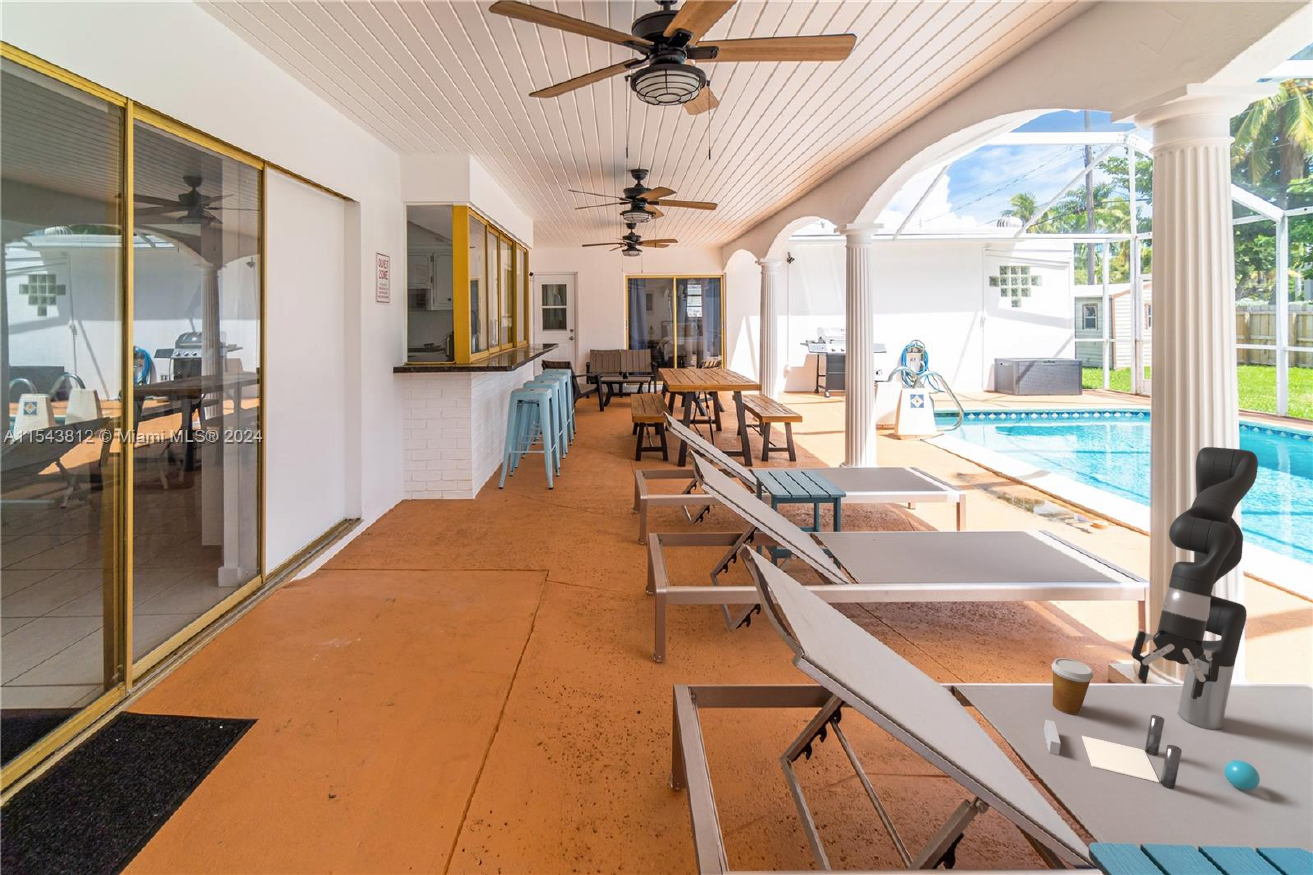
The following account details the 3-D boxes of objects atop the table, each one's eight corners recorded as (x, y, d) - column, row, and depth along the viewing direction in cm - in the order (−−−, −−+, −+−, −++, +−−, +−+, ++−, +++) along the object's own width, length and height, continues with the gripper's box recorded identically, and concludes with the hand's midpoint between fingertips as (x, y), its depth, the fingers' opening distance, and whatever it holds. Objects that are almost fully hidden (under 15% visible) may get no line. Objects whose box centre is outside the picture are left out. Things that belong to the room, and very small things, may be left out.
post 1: (1143, 747, 167) (1149, 713, 166) (1156, 750, 166) (1162, 716, 165) (1146, 754, 165) (1152, 719, 163) (1159, 756, 164) (1165, 722, 162)
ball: (1217, 775, 158) (1222, 751, 157) (1250, 783, 156) (1255, 759, 155) (1227, 791, 152) (1232, 766, 151) (1261, 799, 150) (1267, 774, 149)
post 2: (1158, 780, 155) (1165, 743, 154) (1172, 783, 154) (1179, 746, 153) (1162, 787, 153) (1169, 750, 151) (1176, 790, 152) (1183, 753, 150)
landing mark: (1081, 736, 171) (1081, 735, 171) (1144, 750, 166) (1144, 750, 166) (1091, 766, 159) (1092, 765, 159) (1159, 783, 154) (1159, 782, 154)
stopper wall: (1043, 730, 173) (1045, 719, 172) (1052, 732, 172) (1054, 721, 171) (1049, 752, 164) (1051, 741, 163) (1058, 755, 163) (1060, 743, 162)
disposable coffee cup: (1093, 720, 178) (1100, 677, 176) (1053, 714, 180) (1059, 672, 178) (1078, 701, 188) (1085, 659, 186) (1040, 695, 189) (1046, 655, 187)
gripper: (1224, 622, 142) (1207, 700, 142) (1141, 601, 150) (1125, 674, 150) (1232, 626, 136) (1214, 707, 136) (1145, 604, 143) (1128, 681, 143)
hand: (1167, 690), depth 143 cm, fingers open, 8 cm apart
